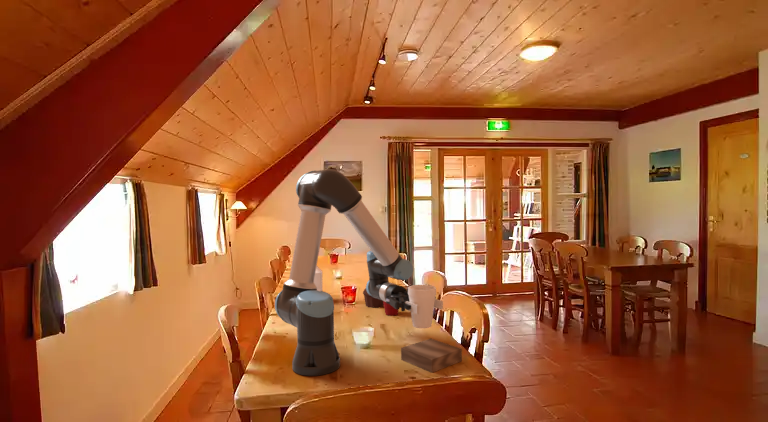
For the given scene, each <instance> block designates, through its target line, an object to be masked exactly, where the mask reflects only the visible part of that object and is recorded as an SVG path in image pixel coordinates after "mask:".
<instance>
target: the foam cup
mask: <svg viewBox="0 0 768 422" xmlns="http://www.w3.org/2000/svg"><path fill="white" fill-rule="evenodd" d="M407 292H408V295H409V301H410V302H411V303H414V304H416V305H419V314H416V313H413V312H411V311H410V317H411V323H412V326H413V328H415V329H429V328H431V327H432V323H433V316H434V311H435V310H434V309H435V307H434V303H435V296H437V287H436V286H434V285H430V284H413V285H409V286H408V287H407Z"/></svg>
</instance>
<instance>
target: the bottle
mask: <svg viewBox="0 0 768 422" xmlns="http://www.w3.org/2000/svg"><path fill="white" fill-rule="evenodd" d="M314 284H315V285H316V287H317V291H323V270H322V269H321V268H320V267H319V266H318V265H317V266H316V272H315V278H314Z"/></svg>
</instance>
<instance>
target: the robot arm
mask: <svg viewBox="0 0 768 422" xmlns="http://www.w3.org/2000/svg"><path fill="white" fill-rule="evenodd" d="M295 192H296V196H297V197H298V202H297V203H298V204H297V206H298V208H299V210H300V216H299V217H300V218H299V223H298V228H297V234H296V239H295V245H294V249H293V256H292V261H291V266H290V267H291V268H290V272H289V277H288V279H287V280H286V281H284V282H283V283H282V285H283V286H282V290H281V291H280V292H279V293H277V295H276V297H275V300H274V309H275V312H276V314H277V316H278V317H279V318H280V319H281V320H282V321H283V322H284V323H286V324H289V325H291V326H293V327H294V328H296V331H297V335H296V337H297V343H296V344H297V345H296V348H295V350H294V355H293V358H292V361H291V362H292V365H291V366H292V368H291V369H292V371H293V372H294V373H295V374H298V375H301V376H307V377H309V376H311V377H313V376H317V377H318V376H323V375H326V374H327V375H328V374H331V373H333V372H336V371H337V370H338V369H339V368H340V366H341V358H340V354H339V351H338V348H337V345H336V342H335V315H334V314H335V312H334V311H335V304H334V299H333V296H332V295H331V294H330V293H329V292H326V291H323V290H322V291H317V287H316V285H315V284H314V278H315V272H316V266H318V259H319V253H320V248H321V243H322V237H323V232H324V224H325V221H326V216H327V214H329V213H330V212H331V210H332V207H333V208H335V209H336V211H337V212H338V213H339V214H343V215H344V217H346V219H347V220H348V221H349V223H350V225H351V226H352V228H354V230H355V231H356V233H357V234H358V235H359V236H360V237H361V240H363V242H364V243H365V244H366V246H367V247H368V249H370V250H368V251H367V252H366V264H367V271H368V279H369V280H368V281H367V282H366V286H365V288H366V291H367V293H368V294H369V295H371V296H372V297H374V298H377V299H380V300H382V301H385V302H386V303H387V304H390V305H391V306H392V307H394V308H395V309H397V310H398V309H399V310H400V311H401V312H406V311H409V312H410V313H411V312H413V313H416V314H419V305H416V304H414V303H411V302H410V301H409V295H408V290H407V289H406V288H405V287H404V286H402V285H400V284H396V283H393V282H390V280H389V278H391V279H395V280H398V281H407V280H409V279H410V278H411V277H412V276H413V272H414V266H413V263H412V262H411V261H410V260H408V259H406V258H403V257H402V256H401V254H400V253H399V251H397V249H396V247H395V245H394V244H393V243H392V241H390V239H389V237H388V236H387V234H386V233H385V232H384V230H383V229H382V228H381V226H380V225H379V224H378V222H377V220H376V219H375V218H374V216H373V215H372V214H371V212H370V211H369V210H368V208H367V207H366V205H365V204H364V203H363V201H362V200H363V196H362V194H361V193H360V192H359V190H358V188H357V187H356V186H355V185H354V184H353V182H352V181H351V180H350V179H349V177H347V176H345V175H344V174H343V173H342V172H341V171H339V170H336V169H331V168H327V169H320V170H311V171H308V172H306V173H303V175H301V177H299V179H298V180H297V183H296V186H295ZM436 296H437V295H435V303H434V308H436V309H439V310H443V309H444V301H443V300H440V299H437V297H436Z"/></svg>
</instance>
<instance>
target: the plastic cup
mask: <svg viewBox="0 0 768 422" xmlns="http://www.w3.org/2000/svg"><path fill="white" fill-rule="evenodd" d="M383 304H384V305H383V308H384V314H385V315H386V316H390V317H394V316H398V315H399V310H400V308H399V309H398V310H397V309H395V308H394V307H392V306H391V305H390V304H387V303H386V302H385V301H383Z"/></svg>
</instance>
